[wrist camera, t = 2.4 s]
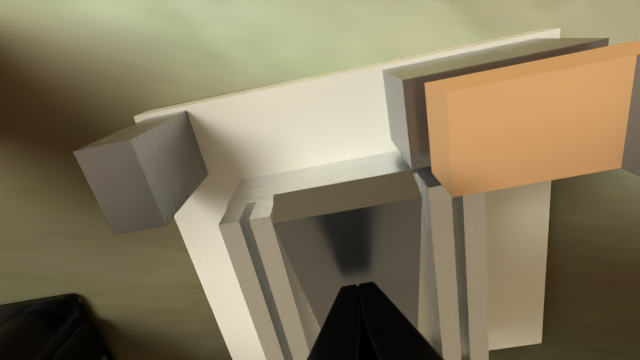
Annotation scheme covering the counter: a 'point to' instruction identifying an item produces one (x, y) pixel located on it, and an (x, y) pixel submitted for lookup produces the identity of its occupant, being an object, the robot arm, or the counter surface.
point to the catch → (536, 120)
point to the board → (333, 146)
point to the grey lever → (354, 239)
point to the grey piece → (257, 193)
